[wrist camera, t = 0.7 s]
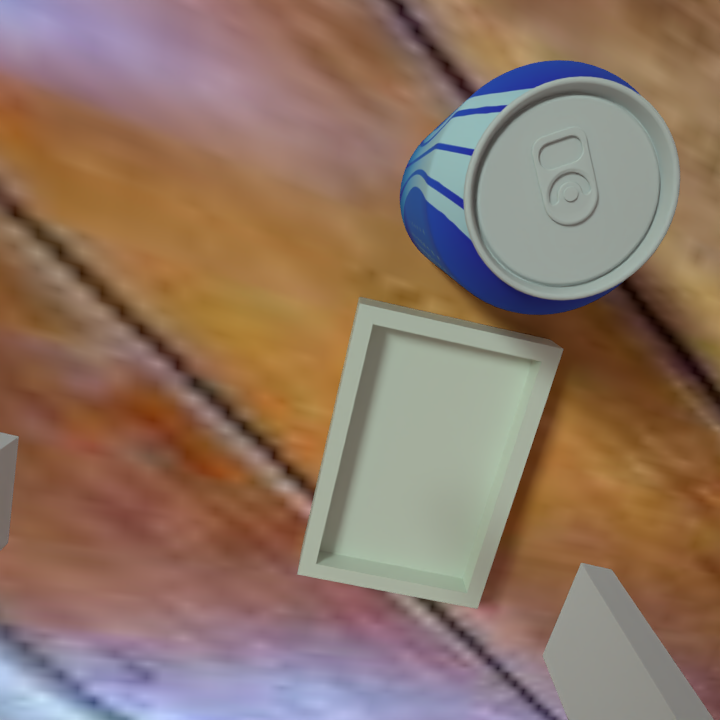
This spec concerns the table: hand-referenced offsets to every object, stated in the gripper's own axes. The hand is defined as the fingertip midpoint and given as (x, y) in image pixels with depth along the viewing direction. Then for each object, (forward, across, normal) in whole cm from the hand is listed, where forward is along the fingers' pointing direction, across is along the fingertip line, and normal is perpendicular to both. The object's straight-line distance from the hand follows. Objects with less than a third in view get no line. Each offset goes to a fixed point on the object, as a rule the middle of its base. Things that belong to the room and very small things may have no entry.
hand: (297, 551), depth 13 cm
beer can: (+23, +6, +10) cm, 25 cm away
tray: (+22, +7, -6) cm, 24 cm away
